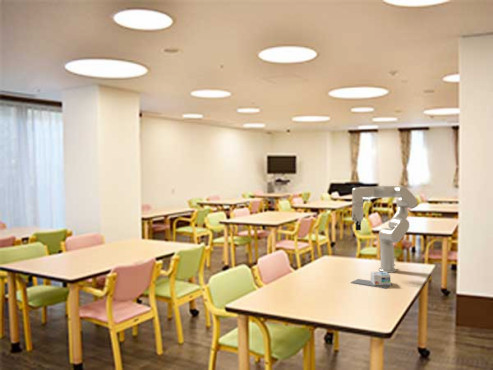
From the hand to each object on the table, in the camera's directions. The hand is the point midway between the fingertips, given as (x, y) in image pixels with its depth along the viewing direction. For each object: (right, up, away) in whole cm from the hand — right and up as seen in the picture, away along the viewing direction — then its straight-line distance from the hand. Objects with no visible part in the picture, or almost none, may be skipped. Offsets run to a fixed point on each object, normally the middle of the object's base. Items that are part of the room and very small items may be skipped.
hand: (358, 230), depth 301 cm
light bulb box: (+8, -29, -22) cm, 37 cm away
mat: (+2, -33, -26) cm, 42 cm away
